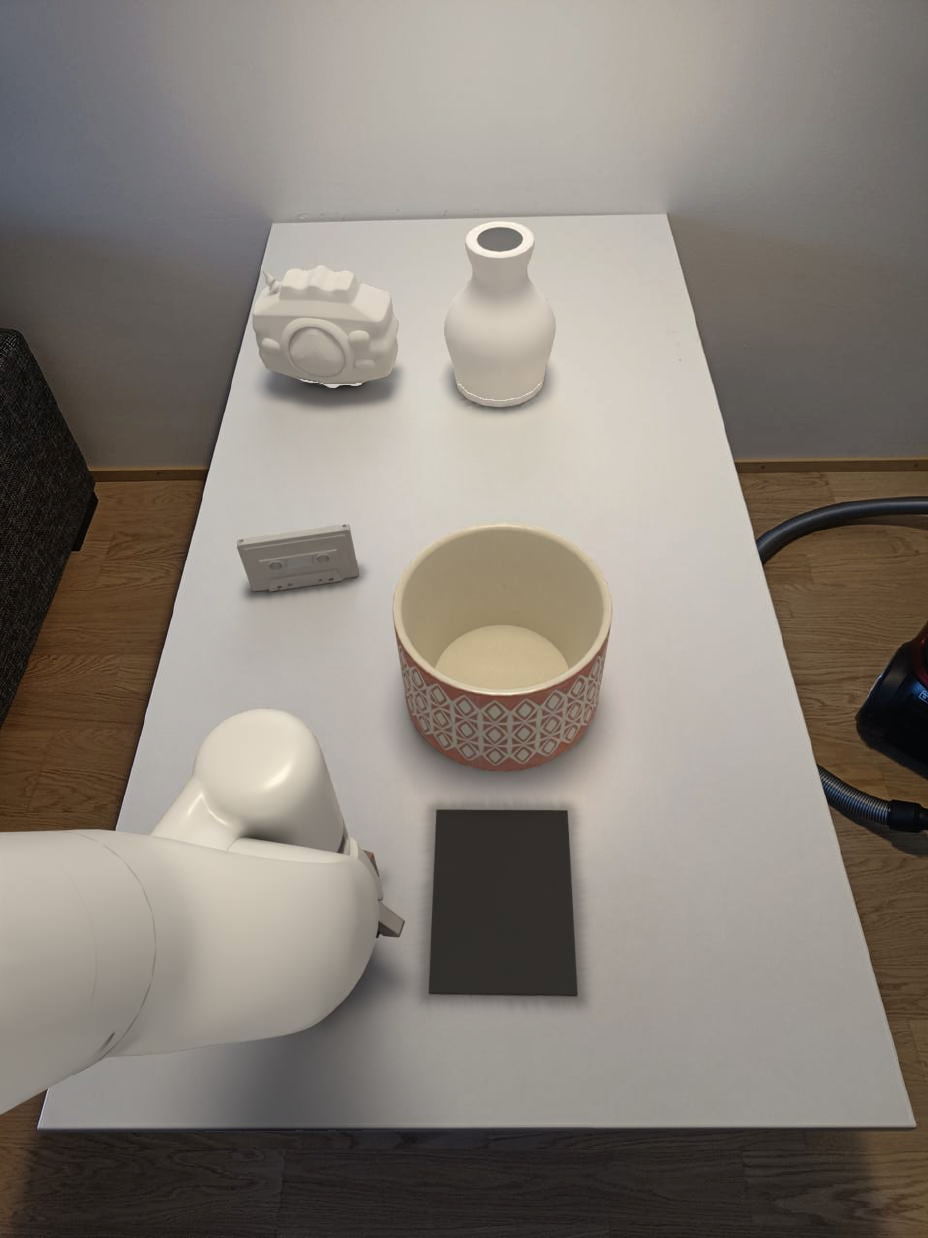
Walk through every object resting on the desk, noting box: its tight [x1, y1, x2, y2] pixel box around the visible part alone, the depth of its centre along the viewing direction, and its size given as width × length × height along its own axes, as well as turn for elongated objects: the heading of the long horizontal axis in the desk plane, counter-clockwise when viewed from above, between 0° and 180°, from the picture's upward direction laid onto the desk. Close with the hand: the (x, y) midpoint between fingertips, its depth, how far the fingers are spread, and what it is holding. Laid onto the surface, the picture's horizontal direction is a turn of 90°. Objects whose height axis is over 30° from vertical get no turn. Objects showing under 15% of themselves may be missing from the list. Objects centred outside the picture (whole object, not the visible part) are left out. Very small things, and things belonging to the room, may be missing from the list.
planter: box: [392, 522, 613, 772], centre depth 83 cm, size 19×19×15 cm
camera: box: [252, 265, 400, 384], centre depth 113 cm, size 11×18×16 cm, turn 82°
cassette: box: [236, 523, 360, 592], centre depth 95 cm, size 12×2×8 cm, turn 100°
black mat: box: [428, 809, 578, 996], centre depth 76 cm, size 16×12×1 cm
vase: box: [443, 220, 557, 408], centre depth 111 cm, size 14×14×20 cm
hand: (331, 933), depth 74 cm, fingers closed on bar, 4 cm apart
